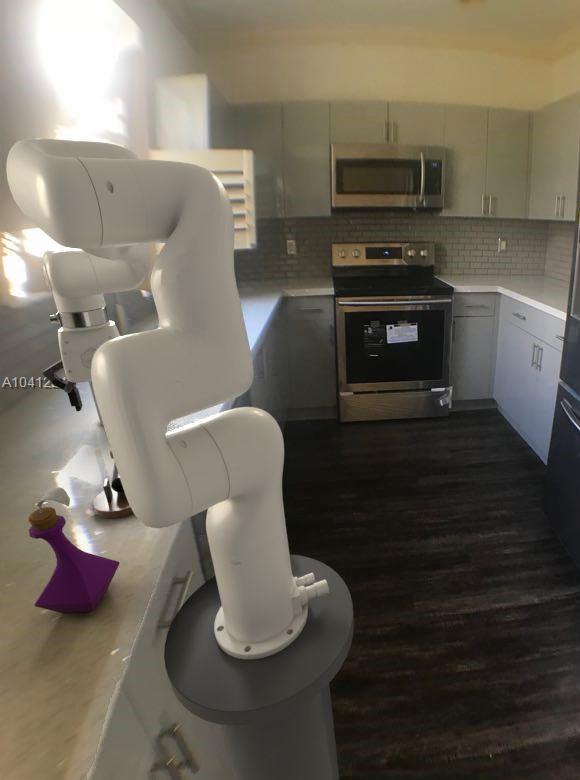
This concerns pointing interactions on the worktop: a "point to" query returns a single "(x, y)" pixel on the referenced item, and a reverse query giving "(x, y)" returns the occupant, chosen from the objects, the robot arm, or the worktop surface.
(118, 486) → the rod
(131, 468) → the robot arm
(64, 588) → the perfume bottle
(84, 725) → the worktop surface
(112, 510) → the holder base
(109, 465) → the worktop surface
